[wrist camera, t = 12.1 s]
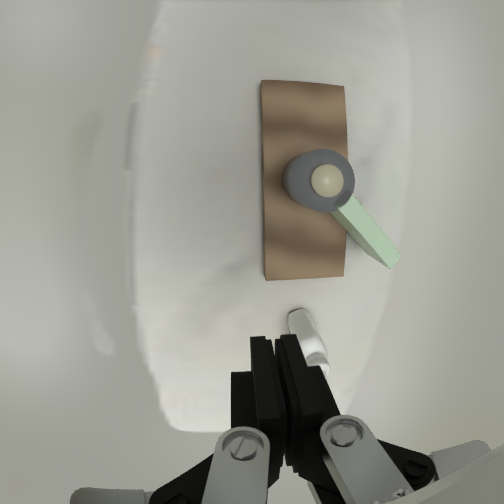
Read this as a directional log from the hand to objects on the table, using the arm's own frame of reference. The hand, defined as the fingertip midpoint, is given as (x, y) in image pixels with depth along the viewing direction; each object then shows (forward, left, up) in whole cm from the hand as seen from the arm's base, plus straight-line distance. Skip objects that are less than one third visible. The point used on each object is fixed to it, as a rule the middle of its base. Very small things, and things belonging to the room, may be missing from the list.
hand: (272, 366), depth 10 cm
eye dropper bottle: (+13, +7, -25) cm, 30 cm away
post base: (-6, +7, -25) cm, 27 cm away
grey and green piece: (-3, +10, -23) cm, 25 cm away
